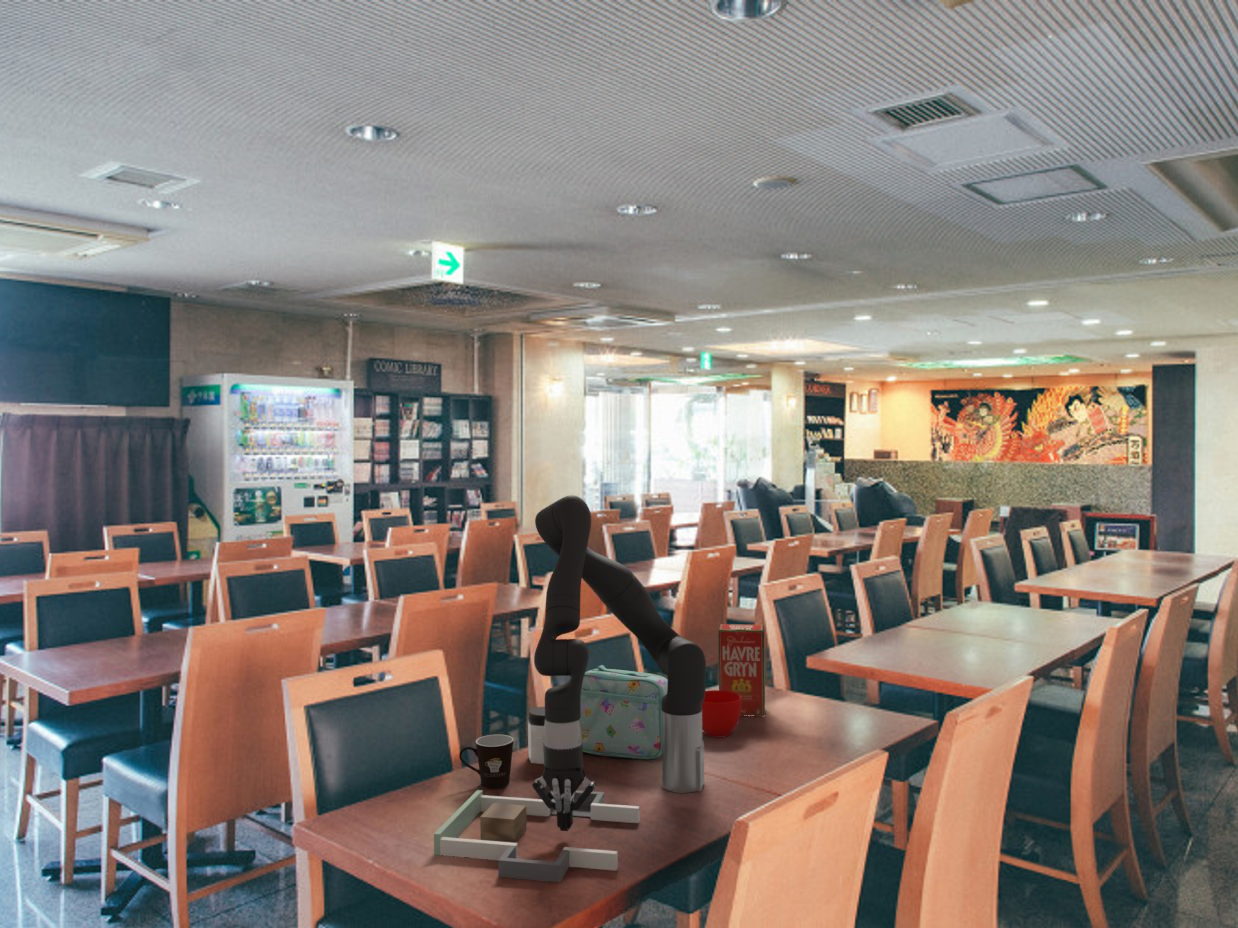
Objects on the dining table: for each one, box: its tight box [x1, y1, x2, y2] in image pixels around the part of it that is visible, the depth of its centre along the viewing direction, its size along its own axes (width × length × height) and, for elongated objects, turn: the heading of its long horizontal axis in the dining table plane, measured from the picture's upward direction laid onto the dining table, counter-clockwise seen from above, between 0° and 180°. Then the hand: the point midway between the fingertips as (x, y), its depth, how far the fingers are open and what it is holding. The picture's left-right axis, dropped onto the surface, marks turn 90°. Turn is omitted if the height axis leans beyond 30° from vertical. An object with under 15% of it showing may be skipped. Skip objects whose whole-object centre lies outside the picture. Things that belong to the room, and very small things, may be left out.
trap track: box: [433, 789, 640, 883], centre depth 175 cm, size 35×35×4 cm
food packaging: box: [717, 623, 766, 717], centre depth 260 cm, size 13×9×25 cm
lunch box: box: [580, 664, 668, 760], centre depth 225 cm, size 27×10×21 cm, turn 68°
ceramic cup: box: [702, 689, 741, 738], centre depth 241 cm, size 13×17×10 cm
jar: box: [527, 706, 545, 765], centre depth 221 cm, size 9×8×12 cm
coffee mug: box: [458, 734, 514, 790], centre depth 205 cm, size 12×9×10 cm
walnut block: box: [479, 803, 527, 843], centre depth 177 cm, size 7×7×5 cm
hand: (565, 829), depth 174 cm, fingers closed
